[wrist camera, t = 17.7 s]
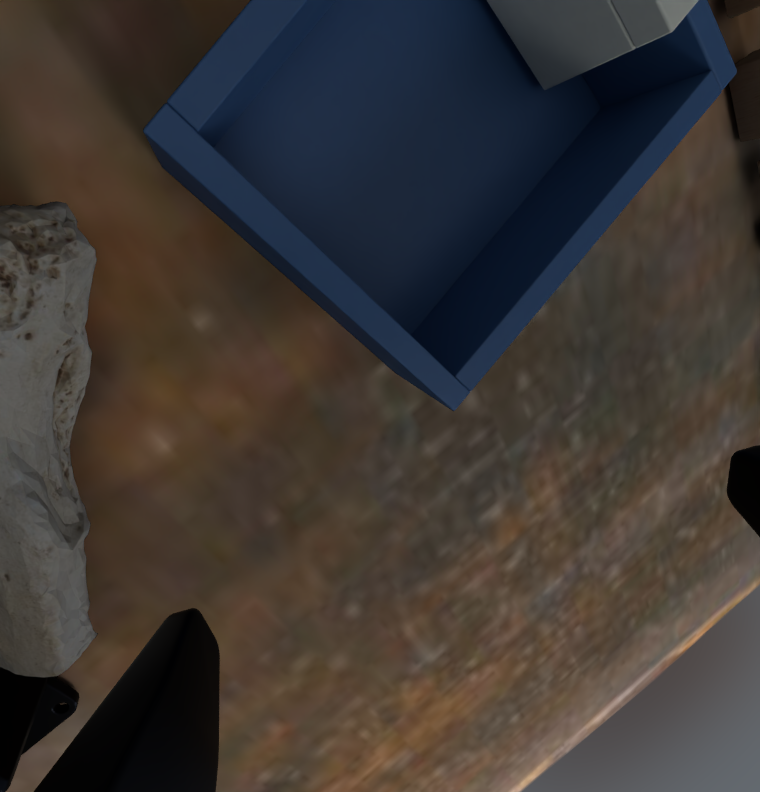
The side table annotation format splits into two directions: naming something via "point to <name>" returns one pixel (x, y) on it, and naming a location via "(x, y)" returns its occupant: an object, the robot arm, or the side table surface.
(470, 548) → the side table surface
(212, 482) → the side table surface
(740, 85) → the wooden blocks
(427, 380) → the blue box
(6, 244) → the bone fragment
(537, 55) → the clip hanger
